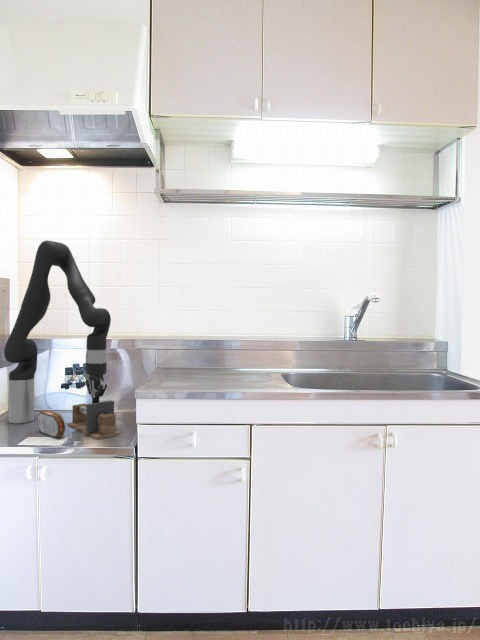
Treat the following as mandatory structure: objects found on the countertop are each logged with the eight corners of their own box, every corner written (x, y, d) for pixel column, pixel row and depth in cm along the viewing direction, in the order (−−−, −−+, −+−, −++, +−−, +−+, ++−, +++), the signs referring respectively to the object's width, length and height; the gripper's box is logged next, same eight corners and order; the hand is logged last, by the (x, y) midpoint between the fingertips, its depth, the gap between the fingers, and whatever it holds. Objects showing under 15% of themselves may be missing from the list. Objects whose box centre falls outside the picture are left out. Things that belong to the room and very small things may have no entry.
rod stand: (67, 425, 165) (67, 406, 165) (89, 421, 172) (89, 402, 172) (96, 440, 149) (97, 418, 148) (119, 434, 155) (120, 413, 155)
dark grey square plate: (86, 431, 153) (86, 404, 153) (111, 426, 160) (111, 400, 160) (88, 432, 152) (89, 405, 152) (113, 427, 159) (114, 401, 159)
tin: (65, 438, 150) (66, 414, 150) (57, 440, 148) (57, 416, 148) (43, 430, 159) (44, 408, 159) (35, 432, 157) (35, 409, 157)
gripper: (78, 360, 160) (78, 405, 160) (95, 364, 151) (94, 411, 151) (97, 358, 165) (96, 402, 166) (114, 362, 156) (113, 408, 156)
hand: (95, 406), depth 158 cm, fingers closed
